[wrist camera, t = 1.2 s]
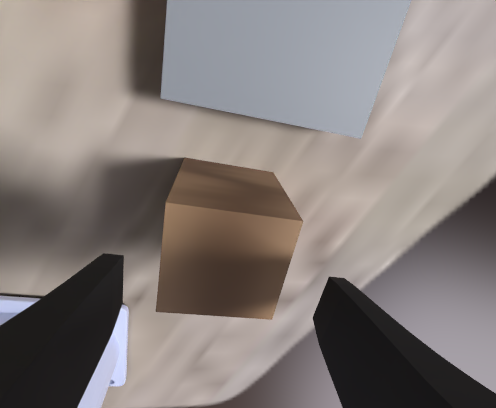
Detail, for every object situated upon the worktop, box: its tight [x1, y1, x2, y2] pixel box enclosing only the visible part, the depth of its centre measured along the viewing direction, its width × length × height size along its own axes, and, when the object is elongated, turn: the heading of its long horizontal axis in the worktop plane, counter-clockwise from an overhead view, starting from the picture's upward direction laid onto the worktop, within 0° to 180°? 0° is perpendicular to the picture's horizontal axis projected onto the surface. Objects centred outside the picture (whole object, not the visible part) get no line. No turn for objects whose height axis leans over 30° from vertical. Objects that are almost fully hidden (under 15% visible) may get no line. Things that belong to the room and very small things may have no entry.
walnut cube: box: [156, 158, 303, 319], centre depth 13 cm, size 5×5×6 cm
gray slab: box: [161, 0, 411, 139], centre depth 11 cm, size 9×9×3 cm
